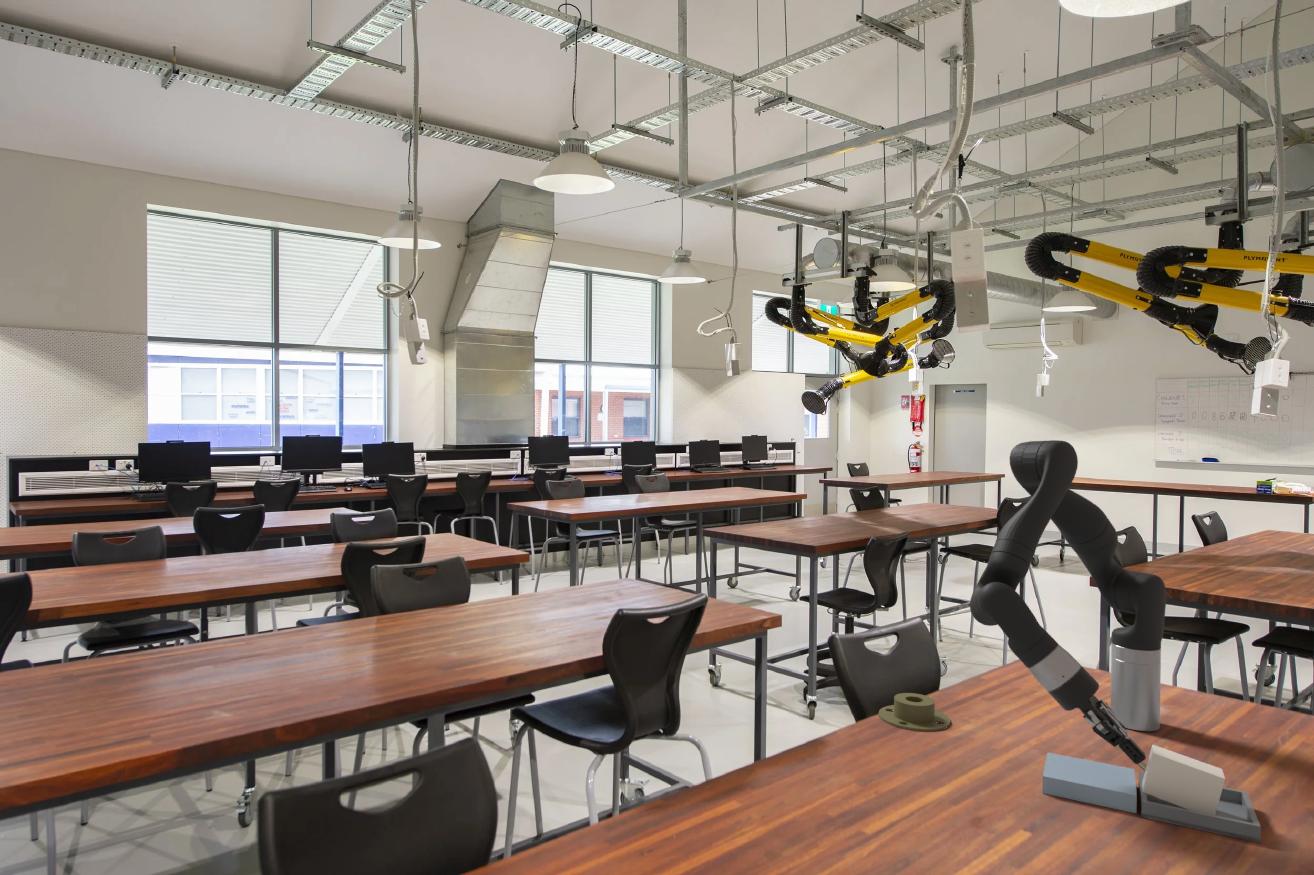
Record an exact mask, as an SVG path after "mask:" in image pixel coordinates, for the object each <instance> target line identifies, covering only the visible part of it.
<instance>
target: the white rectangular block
mask: <svg viewBox="0 0 1314 875" xmlns="http://www.w3.org/2000/svg"><path fill="white" fill-rule="evenodd" d="M1146 765H1147V766H1146V770H1145V771H1144V772H1145V774H1144V778H1143V781H1142V786H1143V792H1144V793H1147V794H1149V795H1152V796H1154V797H1157V798H1160V799H1162V800H1165V801H1168V802H1170V803H1173V804H1175V805H1178V806H1181V807H1183V808H1186V809H1188V810H1192V811H1197V812H1202V813H1207V814H1212V815H1215V814H1216V810H1217V806H1218V803H1219V799H1220V796H1221V792H1222V789H1223V787H1224V784H1225V781H1226V777H1225V774H1224V771H1223V768H1221V767H1217V766H1215V765H1212V764H1209V763H1206V762H1203V761H1201V760H1197V759H1195V758H1192V757H1189V756H1186V755H1183V754H1181V753H1178V752H1175V751H1173V750H1170V749H1168V748H1167V749H1166V748H1164V747H1161V746H1159V745H1156V744H1152V745H1151V748H1150V753H1149V755H1148V759H1147V763H1146Z"/></svg>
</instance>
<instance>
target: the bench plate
mask: <svg viewBox="0 0 1314 875" xmlns="http://www.w3.org/2000/svg"><path fill="white" fill-rule="evenodd" d="M1136 782H1137V781H1136V770H1135V768H1131V767H1126V766H1125V767H1124V766H1120V765H1115V764H1111V763H1110V764H1109V763H1103V762H1099V761H1094V760H1090V759H1085V758H1078V757H1073V756H1067V755H1063V754H1058V753H1053V752H1049V751H1048V752H1047V753H1046V757H1045V762H1044V767H1043V774H1042V794H1045V795H1050V796H1053V797H1059V798H1064V799H1067V800H1074V801H1077V802H1081V803H1086V804H1091V805H1097V806H1102V807H1104V808H1105V807H1106V808H1109V809H1115V810H1120V811H1124V812H1127V813H1128V812H1129V813H1133V814H1137V805H1138V803H1137V800H1138V799H1137V798H1138V796H1137V795H1138V793H1137V784H1136Z"/></svg>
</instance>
